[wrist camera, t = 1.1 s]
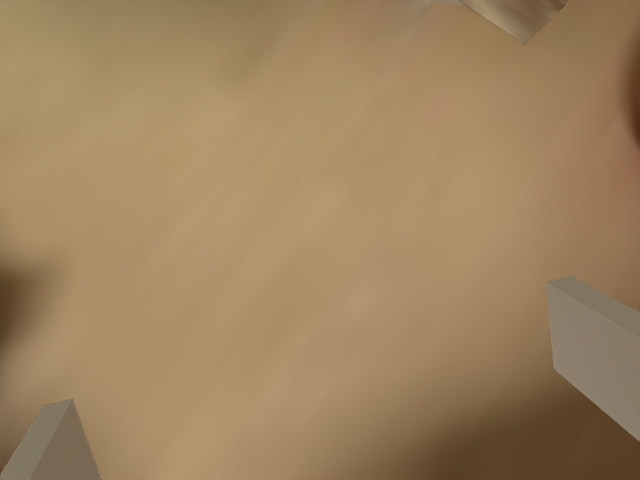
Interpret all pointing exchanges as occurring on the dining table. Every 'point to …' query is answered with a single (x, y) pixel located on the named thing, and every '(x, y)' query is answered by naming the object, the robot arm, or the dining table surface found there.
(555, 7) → the tray
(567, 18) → the dining table surface
